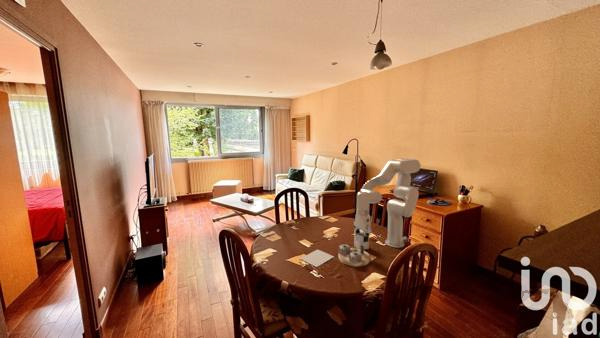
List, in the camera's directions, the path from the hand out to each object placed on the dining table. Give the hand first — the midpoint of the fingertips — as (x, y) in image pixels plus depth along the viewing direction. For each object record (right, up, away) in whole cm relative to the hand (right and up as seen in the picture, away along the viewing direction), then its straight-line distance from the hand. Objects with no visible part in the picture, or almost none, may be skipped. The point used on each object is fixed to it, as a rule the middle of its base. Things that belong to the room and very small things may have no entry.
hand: (361, 239), depth 148 cm
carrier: (-5, -12, -1) cm, 13 cm away
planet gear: (0, -1, 0) cm, 1 cm away
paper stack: (-28, -13, -6) cm, 31 cm away
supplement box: (+3, -10, +13) cm, 17 cm away
